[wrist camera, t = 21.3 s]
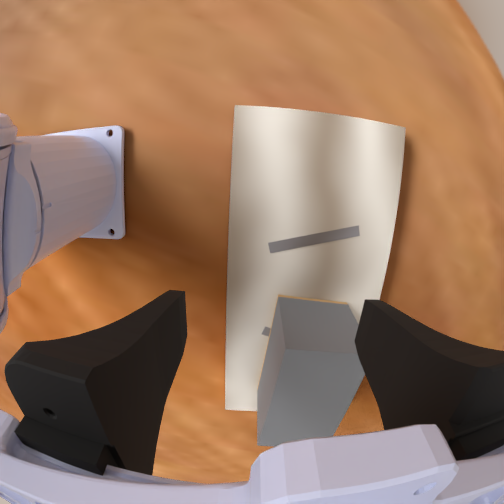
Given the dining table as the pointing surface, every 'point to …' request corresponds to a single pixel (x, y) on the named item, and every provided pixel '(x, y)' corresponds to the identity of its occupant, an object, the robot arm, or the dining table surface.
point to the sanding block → (307, 370)
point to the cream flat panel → (303, 223)
